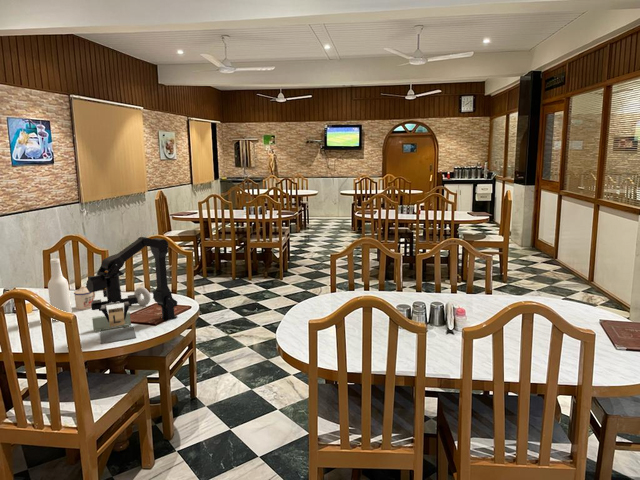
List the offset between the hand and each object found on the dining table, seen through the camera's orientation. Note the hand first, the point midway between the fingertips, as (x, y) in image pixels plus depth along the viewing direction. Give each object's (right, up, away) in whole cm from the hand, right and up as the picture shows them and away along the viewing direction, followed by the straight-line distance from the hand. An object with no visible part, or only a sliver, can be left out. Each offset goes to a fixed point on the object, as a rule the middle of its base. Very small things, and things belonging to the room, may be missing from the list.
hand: (116, 320), depth 212 cm
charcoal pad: (0, -7, +1) cm, 7 cm away
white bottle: (-38, -3, +25) cm, 46 cm away
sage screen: (-7, -5, +11) cm, 14 cm away
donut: (-4, +1, +42) cm, 42 cm away
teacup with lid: (-33, 0, +42) cm, 54 cm away
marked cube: (0, -1, 0) cm, 1 cm away
